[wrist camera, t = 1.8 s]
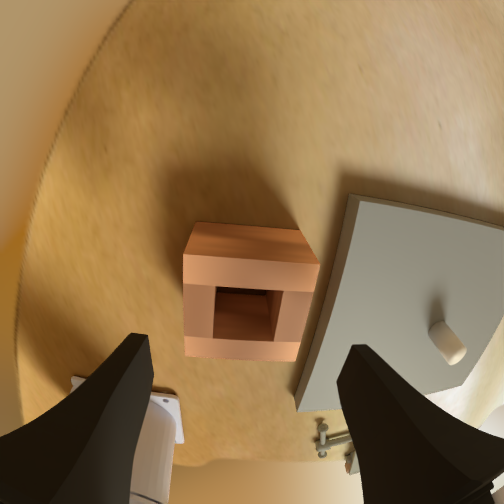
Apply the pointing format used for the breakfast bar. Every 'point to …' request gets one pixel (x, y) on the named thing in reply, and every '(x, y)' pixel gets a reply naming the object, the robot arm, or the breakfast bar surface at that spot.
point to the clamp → (325, 444)
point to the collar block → (242, 305)
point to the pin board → (407, 297)
